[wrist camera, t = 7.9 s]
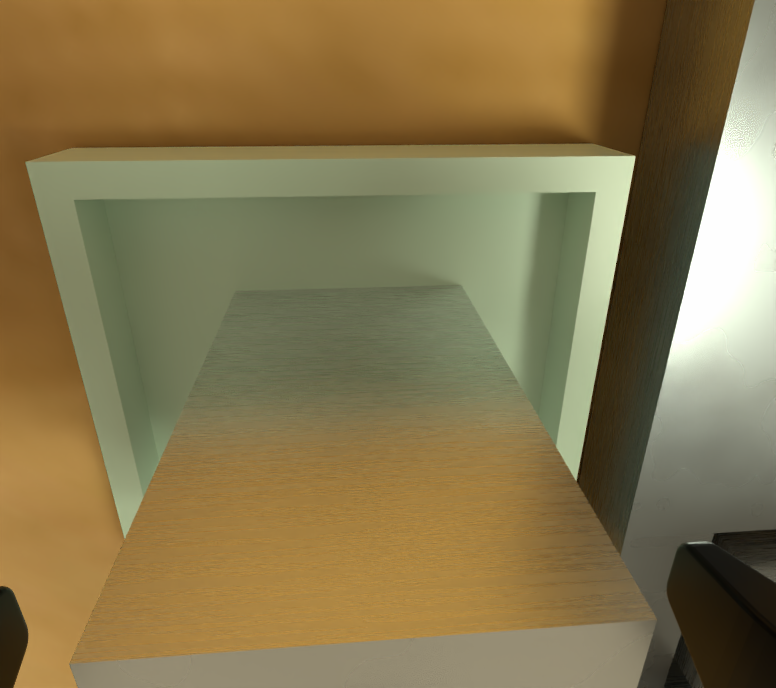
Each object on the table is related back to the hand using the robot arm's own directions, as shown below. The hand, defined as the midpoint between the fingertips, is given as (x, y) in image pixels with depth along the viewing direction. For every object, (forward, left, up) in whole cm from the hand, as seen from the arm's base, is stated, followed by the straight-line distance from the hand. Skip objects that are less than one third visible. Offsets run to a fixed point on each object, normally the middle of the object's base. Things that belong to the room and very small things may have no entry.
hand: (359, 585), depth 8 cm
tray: (0, 0, -6) cm, 6 cm away
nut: (0, 0, -5) cm, 5 cm away
